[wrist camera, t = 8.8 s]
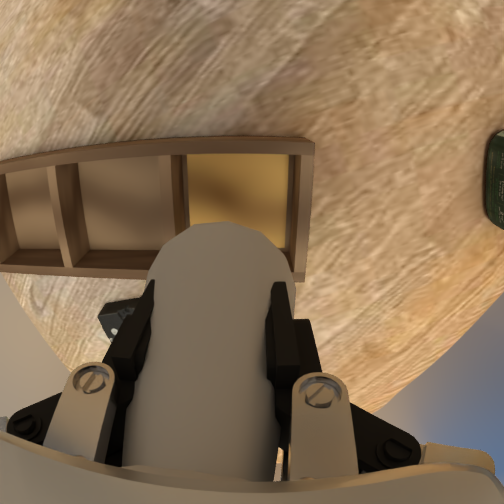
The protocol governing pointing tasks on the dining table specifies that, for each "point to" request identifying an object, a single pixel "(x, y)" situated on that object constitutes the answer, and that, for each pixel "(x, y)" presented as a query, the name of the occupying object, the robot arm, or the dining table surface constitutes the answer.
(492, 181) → the coffee jar
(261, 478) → the salt shaker
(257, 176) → the wooden compartment tray
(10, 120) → the dining table surface
